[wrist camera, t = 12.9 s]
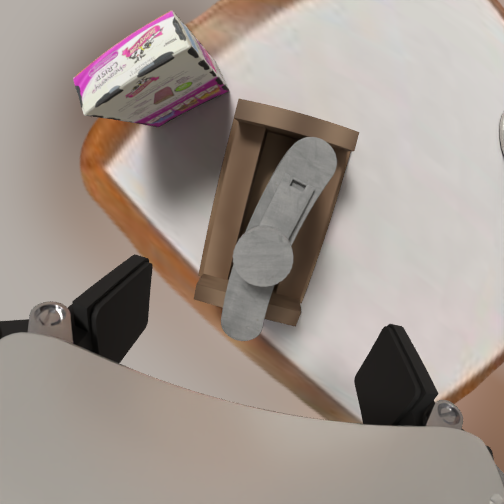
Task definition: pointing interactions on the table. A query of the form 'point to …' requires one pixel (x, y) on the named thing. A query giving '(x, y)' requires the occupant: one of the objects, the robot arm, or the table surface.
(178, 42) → the candy bar box
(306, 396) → the table surface
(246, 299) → the hip flask
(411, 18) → the table surface
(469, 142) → the table surface
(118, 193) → the table surface
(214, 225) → the brown rectangular open tray
